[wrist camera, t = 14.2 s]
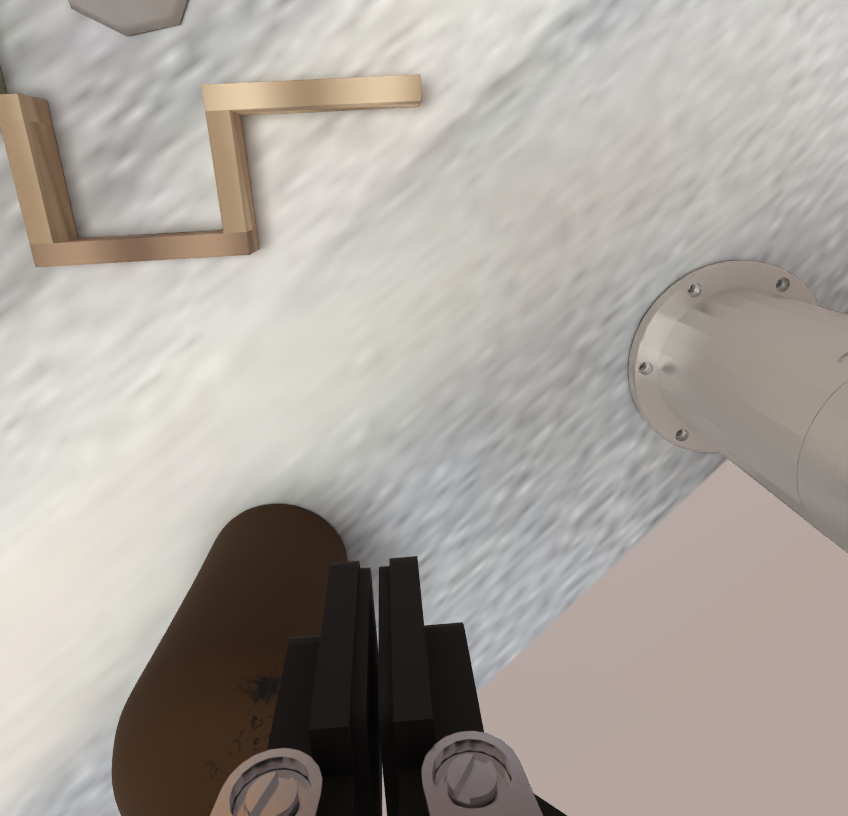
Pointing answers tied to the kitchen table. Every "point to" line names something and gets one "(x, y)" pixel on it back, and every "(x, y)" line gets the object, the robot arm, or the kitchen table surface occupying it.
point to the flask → (132, 13)
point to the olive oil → (222, 662)
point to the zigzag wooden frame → (224, 107)
